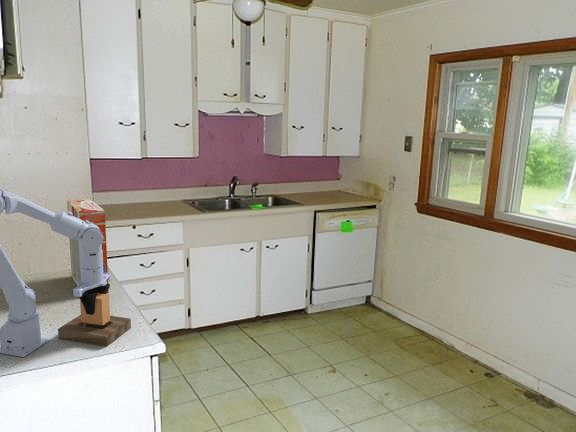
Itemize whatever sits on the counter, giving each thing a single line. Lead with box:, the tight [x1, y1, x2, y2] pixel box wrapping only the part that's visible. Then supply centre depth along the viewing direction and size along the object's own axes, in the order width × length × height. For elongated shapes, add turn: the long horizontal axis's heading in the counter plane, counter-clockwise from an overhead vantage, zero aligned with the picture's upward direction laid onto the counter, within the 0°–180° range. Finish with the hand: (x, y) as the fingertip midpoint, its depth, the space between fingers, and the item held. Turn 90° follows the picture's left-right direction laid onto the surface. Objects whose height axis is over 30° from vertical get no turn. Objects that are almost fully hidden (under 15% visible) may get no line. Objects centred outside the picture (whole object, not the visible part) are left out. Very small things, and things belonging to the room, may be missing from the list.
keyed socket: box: [57, 314, 132, 348], centre depth 135 cm, size 12×16×3 cm
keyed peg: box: [79, 293, 111, 325], centre depth 133 cm, size 4×7×8 cm, turn 77°
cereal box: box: [66, 198, 109, 294], centre depth 168 cm, size 23×8×30 cm, turn 35°
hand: (94, 311), depth 133 cm, fingers closed on keyed peg, 3 cm apart
